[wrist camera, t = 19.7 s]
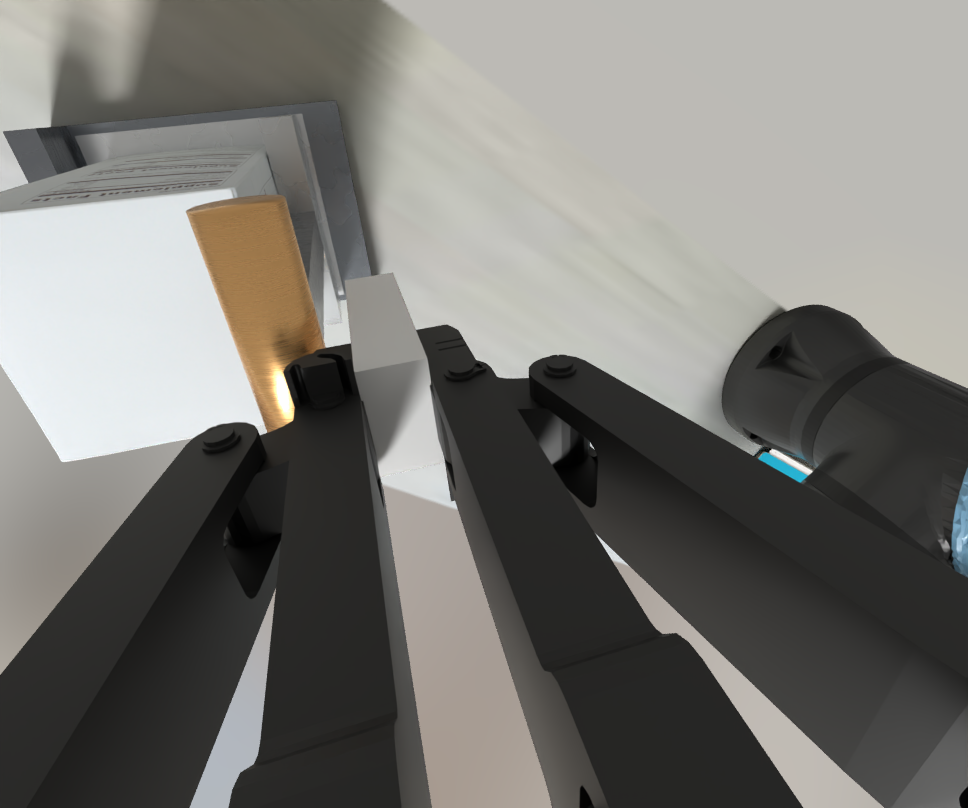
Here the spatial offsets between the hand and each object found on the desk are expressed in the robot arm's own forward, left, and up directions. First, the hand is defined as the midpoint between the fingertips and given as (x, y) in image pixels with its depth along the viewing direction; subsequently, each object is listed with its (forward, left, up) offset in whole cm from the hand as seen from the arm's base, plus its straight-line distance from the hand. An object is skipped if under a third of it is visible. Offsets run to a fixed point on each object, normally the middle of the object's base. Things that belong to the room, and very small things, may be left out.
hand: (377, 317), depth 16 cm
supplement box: (0, +8, -20) cm, 22 cm away
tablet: (-39, -42, -23) cm, 61 cm away
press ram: (0, +3, -20) cm, 20 cm away
